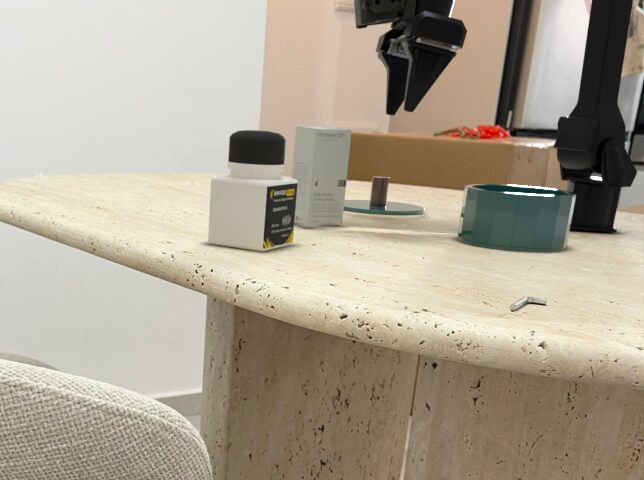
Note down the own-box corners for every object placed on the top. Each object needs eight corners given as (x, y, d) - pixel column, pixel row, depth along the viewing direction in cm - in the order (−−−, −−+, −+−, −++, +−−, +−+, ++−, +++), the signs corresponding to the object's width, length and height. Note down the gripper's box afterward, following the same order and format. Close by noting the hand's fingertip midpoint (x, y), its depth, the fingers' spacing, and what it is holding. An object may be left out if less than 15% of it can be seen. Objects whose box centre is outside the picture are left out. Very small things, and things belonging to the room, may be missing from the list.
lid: (419, 210, 145) (423, 176, 143) (428, 221, 133) (433, 184, 131) (330, 205, 147) (333, 170, 145) (331, 215, 134) (334, 178, 132)
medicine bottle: (263, 252, 100) (272, 133, 96) (206, 243, 104) (212, 129, 100) (293, 245, 106) (303, 132, 102) (238, 237, 110) (245, 128, 105)
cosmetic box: (307, 228, 119) (317, 127, 115) (285, 223, 123) (293, 125, 119) (344, 227, 123) (354, 128, 118) (321, 222, 126) (330, 126, 122)
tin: (552, 239, 121) (561, 187, 119) (576, 254, 109) (587, 198, 107) (452, 232, 122) (459, 181, 120) (465, 247, 111) (474, 191, 108)
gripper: (354, -27, 119) (322, 102, 124) (389, -59, 101) (350, 92, 106) (438, -5, 120) (403, 122, 125) (486, -33, 103) (444, 116, 107)
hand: (398, 113), depth 116 cm, fingers open, 9 cm apart
